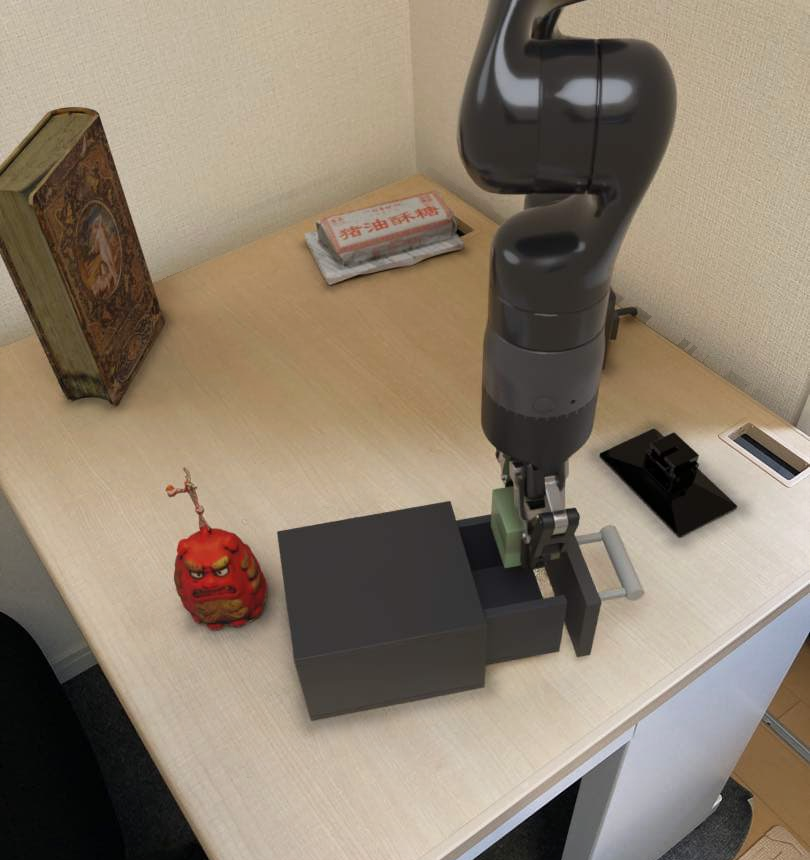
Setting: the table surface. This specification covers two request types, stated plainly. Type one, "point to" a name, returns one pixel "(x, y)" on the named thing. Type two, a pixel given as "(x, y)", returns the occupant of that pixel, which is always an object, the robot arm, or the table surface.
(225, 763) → the table surface
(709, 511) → the build plate
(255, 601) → the red clay folk toy
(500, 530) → the block
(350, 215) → the packaged product
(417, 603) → the cabinet
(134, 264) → the book
